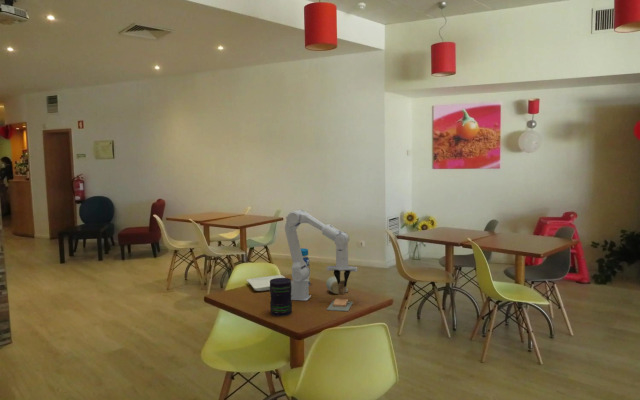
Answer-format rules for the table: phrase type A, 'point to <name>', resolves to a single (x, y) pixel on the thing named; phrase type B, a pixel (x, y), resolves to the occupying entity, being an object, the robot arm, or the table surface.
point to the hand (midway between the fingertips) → (342, 285)
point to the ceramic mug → (333, 285)
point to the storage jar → (280, 296)
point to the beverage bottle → (306, 260)
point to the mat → (340, 307)
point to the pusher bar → (341, 288)
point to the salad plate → (262, 282)
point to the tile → (340, 303)
